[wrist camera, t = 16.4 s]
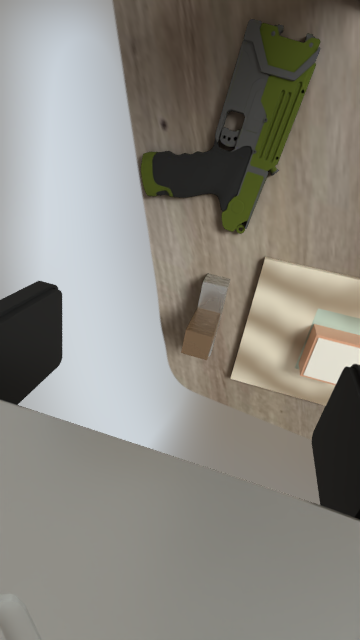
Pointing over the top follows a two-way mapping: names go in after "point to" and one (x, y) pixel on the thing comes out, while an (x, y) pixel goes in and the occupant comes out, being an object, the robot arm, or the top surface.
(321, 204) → the top surface
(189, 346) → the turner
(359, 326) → the board
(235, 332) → the top surface
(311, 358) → the tile
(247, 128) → the gun
